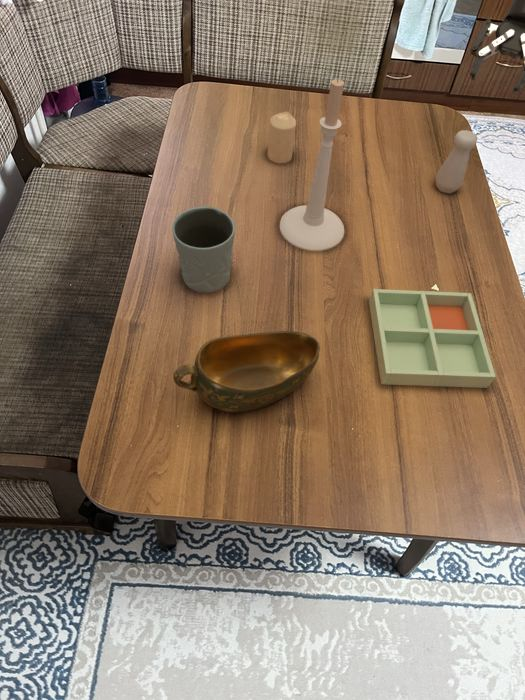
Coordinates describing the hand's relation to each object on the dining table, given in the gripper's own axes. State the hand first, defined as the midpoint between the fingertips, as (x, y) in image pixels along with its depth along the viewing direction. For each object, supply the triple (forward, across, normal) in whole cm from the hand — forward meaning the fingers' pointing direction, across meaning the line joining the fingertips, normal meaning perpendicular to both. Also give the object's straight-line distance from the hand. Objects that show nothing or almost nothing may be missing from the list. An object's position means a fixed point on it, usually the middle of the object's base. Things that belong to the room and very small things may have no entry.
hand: (493, 85), depth 105 cm
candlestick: (+40, -18, -14) cm, 46 cm away
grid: (+50, +11, -24) cm, 56 cm away
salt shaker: (+20, 0, +6) cm, 21 cm away
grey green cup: (+56, -29, -29) cm, 69 cm away
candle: (+28, -35, -2) cm, 45 cm away
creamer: (+67, -10, -40) cm, 79 cm away
